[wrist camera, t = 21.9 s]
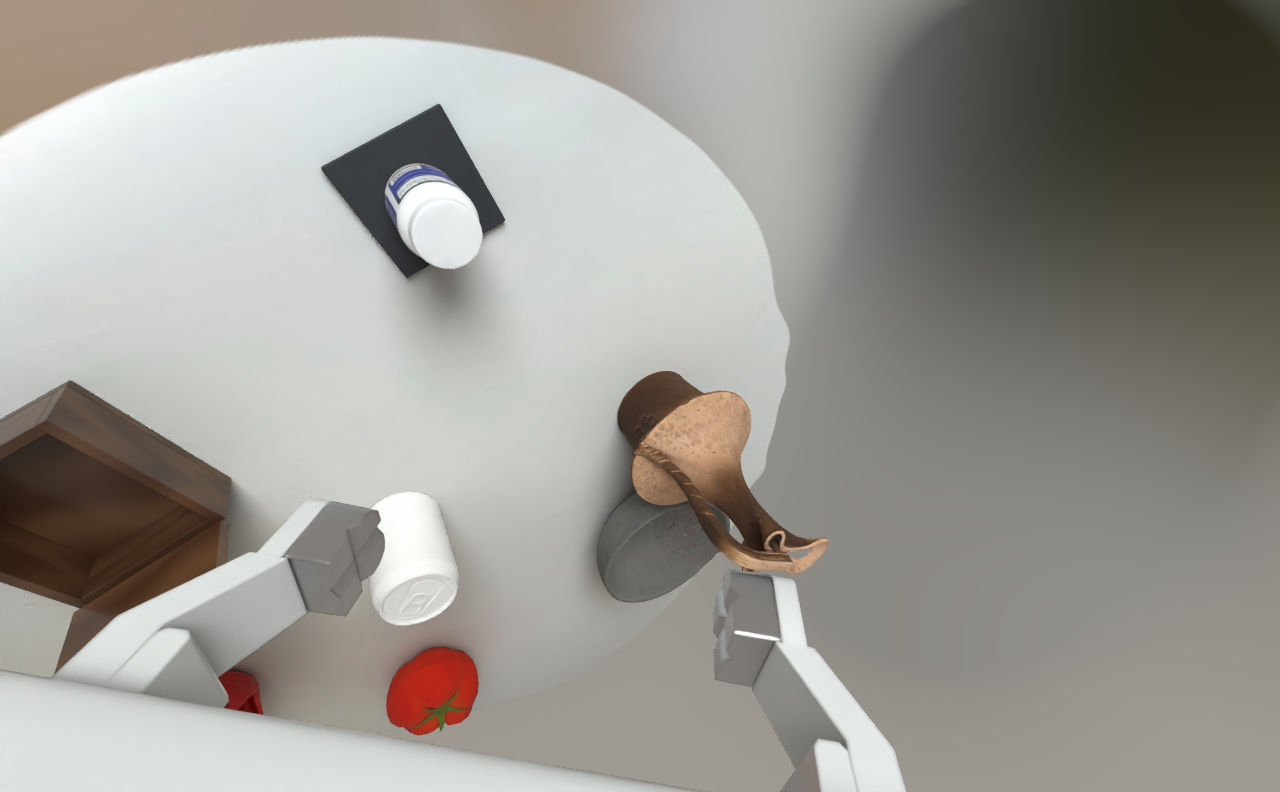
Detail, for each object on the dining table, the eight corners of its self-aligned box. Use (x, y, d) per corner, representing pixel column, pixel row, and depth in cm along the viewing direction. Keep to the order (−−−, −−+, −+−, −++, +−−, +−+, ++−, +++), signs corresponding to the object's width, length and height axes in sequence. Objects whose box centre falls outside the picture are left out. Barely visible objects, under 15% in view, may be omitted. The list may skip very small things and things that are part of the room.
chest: (-106, 478, 36) (-152, 532, 32) (70, 379, 38) (45, 420, 34) (98, 560, 45) (80, 609, 42) (231, 478, 47) (225, 518, 43)
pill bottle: (450, 241, 45) (479, 284, 38) (378, 224, 41) (395, 268, 34) (465, 174, 42) (499, 207, 35) (389, 150, 39) (410, 181, 32)
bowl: (610, 454, 70) (646, 504, 63) (713, 461, 83) (752, 503, 76) (558, 561, 77) (585, 617, 70) (660, 552, 90) (692, 598, 83)
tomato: (360, 678, 70) (366, 741, 64) (441, 623, 72) (454, 679, 66) (416, 701, 79) (426, 757, 73) (487, 651, 81) (502, 702, 75)
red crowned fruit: (218, 722, 62) (209, 806, 55) (125, 711, 55) (103, 805, 48) (285, 668, 63) (284, 745, 56) (202, 650, 55) (190, 736, 49)
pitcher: (572, 452, 66) (689, 639, 47) (623, 336, 60) (782, 495, 40) (673, 457, 77) (803, 611, 57) (725, 359, 71) (891, 493, 51)
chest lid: (9, 812, 31) (96, 815, 35) (204, 681, 33) (268, 697, 36) (73, 612, 41) (135, 630, 45) (220, 520, 43) (269, 544, 46)
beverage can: (451, 495, 61) (477, 573, 52) (418, 545, 62) (437, 629, 54) (382, 481, 55) (398, 567, 47) (348, 537, 57) (357, 629, 48)
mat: (320, 167, 38) (321, 168, 38) (438, 103, 39) (440, 104, 39) (406, 275, 45) (407, 278, 45) (503, 218, 46) (505, 220, 46)
